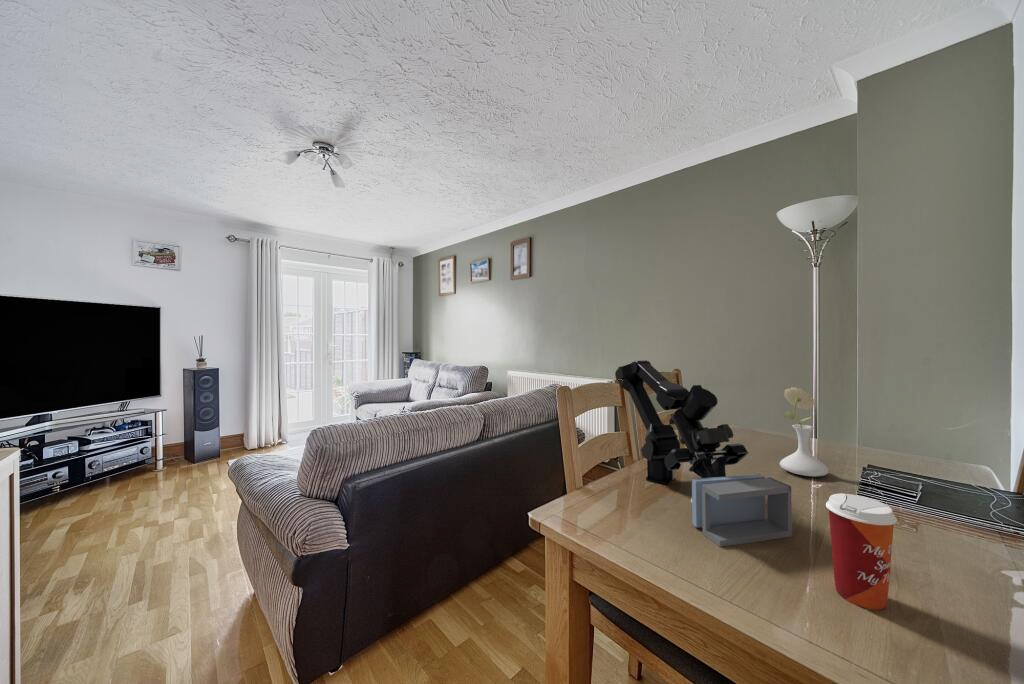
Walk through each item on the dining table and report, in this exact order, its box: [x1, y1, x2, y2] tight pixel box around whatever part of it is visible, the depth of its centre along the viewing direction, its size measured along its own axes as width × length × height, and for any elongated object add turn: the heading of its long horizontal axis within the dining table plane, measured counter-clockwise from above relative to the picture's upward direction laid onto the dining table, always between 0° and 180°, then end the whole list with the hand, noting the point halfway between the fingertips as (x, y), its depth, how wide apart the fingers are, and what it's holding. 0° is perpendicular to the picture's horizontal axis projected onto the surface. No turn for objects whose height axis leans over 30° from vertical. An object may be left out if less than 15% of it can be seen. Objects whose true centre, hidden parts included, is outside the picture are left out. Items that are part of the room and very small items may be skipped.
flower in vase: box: [779, 386, 830, 478], centre depth 110 cm, size 13×11×25 cm
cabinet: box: [701, 477, 793, 548], centre depth 77 cm, size 5×17×10 cm, turn 100°
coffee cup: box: [825, 493, 898, 611], centre depth 59 cm, size 8×8×15 cm
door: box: [690, 474, 766, 528], centre depth 82 cm, size 3×17×10 cm, turn 96°
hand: (724, 492), depth 83 cm, fingers closed
